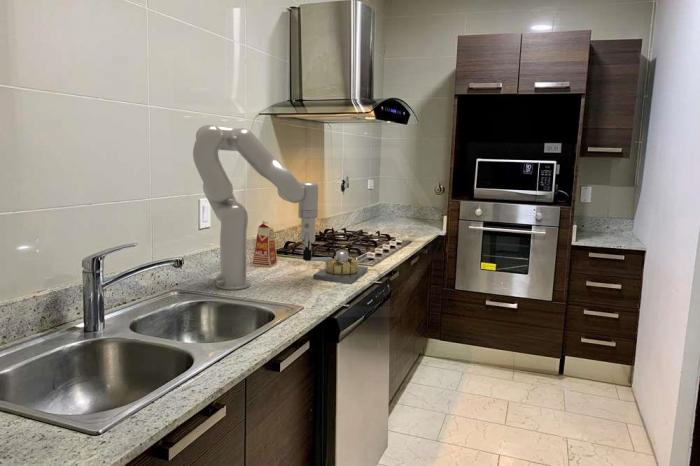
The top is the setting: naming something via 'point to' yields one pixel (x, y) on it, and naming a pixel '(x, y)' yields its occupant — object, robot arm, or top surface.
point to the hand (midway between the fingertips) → (307, 259)
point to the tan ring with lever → (338, 269)
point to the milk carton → (265, 247)
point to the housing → (340, 278)
